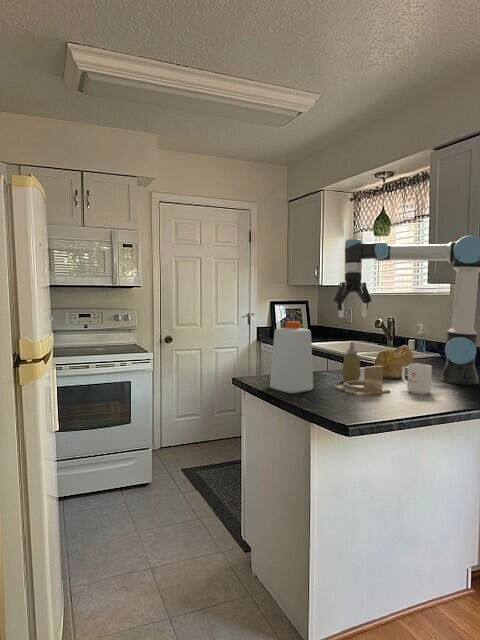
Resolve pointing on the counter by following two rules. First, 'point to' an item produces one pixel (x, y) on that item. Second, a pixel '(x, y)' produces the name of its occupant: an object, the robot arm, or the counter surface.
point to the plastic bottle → (292, 359)
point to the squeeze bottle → (351, 365)
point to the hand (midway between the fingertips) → (352, 317)
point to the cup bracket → (366, 383)
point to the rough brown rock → (394, 361)
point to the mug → (418, 378)
